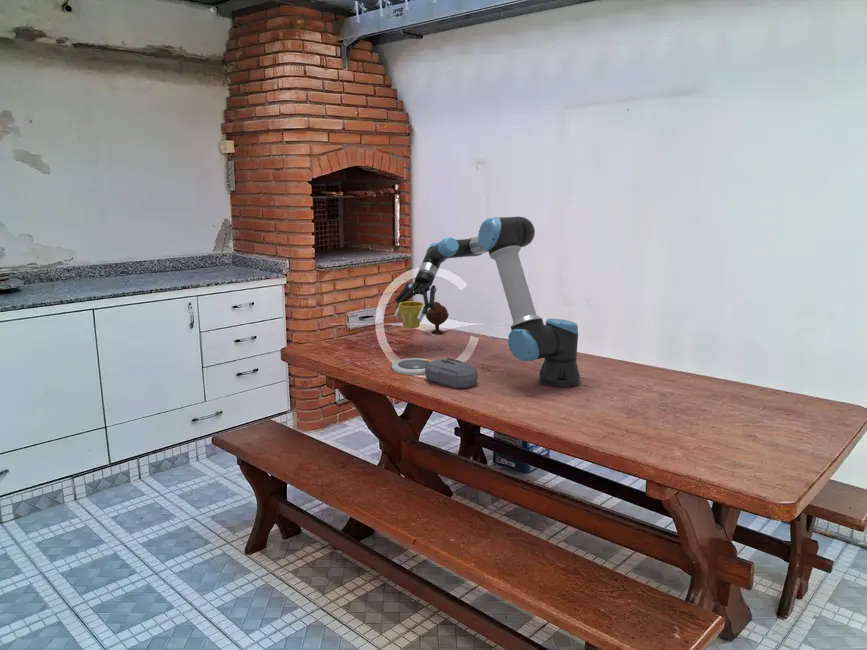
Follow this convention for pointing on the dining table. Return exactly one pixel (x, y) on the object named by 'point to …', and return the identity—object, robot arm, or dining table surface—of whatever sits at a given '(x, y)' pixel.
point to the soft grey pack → (451, 373)
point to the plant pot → (410, 313)
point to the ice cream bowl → (437, 316)
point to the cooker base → (410, 366)
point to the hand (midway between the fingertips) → (407, 318)
